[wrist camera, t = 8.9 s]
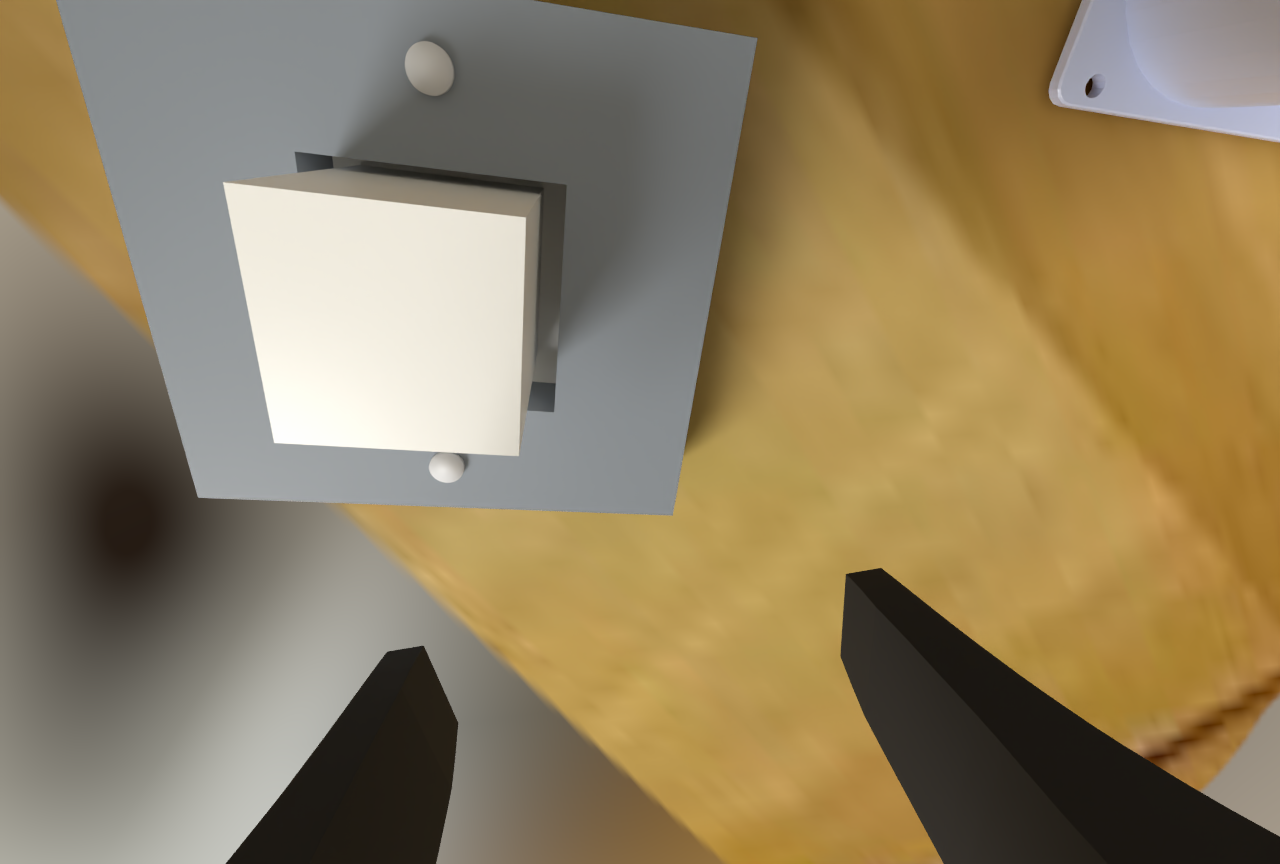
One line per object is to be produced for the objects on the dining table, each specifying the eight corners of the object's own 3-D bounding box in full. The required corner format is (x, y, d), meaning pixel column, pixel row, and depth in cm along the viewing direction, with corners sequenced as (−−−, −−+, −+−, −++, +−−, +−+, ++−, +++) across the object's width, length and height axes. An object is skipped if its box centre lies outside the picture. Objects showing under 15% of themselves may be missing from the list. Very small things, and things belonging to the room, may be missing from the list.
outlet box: (728, 53, 14) (760, 36, 11) (661, 471, 19) (673, 519, 17) (133, -43, 12) (22, -89, 9) (246, 451, 17) (193, 502, 15)
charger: (544, 188, 14) (526, 217, 9) (536, 352, 16) (518, 456, 11) (360, 164, 14) (222, 181, 8) (376, 339, 16) (274, 442, 10)
